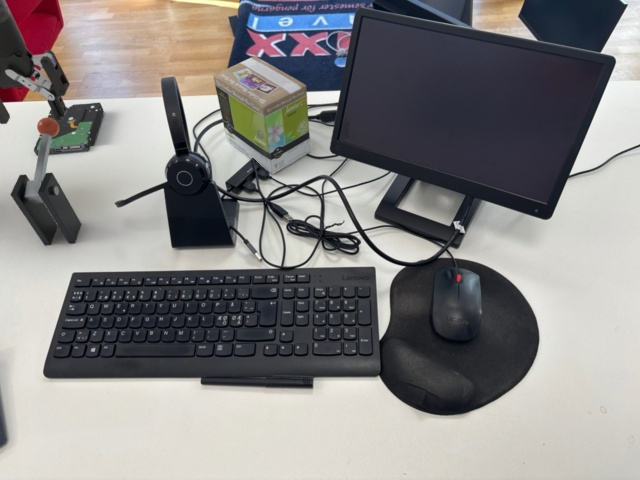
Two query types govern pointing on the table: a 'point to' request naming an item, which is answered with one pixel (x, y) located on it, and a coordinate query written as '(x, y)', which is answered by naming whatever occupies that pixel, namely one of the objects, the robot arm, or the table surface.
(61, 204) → the bracket
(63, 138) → the disk drive
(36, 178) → the lever
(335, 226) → the table surface
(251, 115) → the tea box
